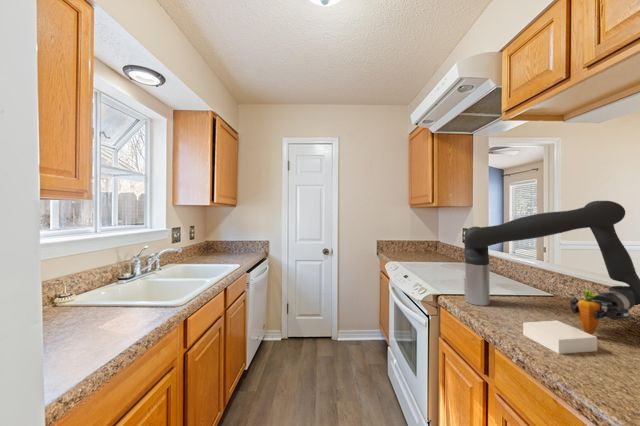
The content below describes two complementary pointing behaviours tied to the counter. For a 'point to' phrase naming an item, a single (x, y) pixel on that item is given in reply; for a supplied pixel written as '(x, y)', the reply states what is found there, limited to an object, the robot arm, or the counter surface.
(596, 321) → the carrot
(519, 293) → the counter surface
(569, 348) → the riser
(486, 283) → the robot arm
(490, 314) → the counter surface
